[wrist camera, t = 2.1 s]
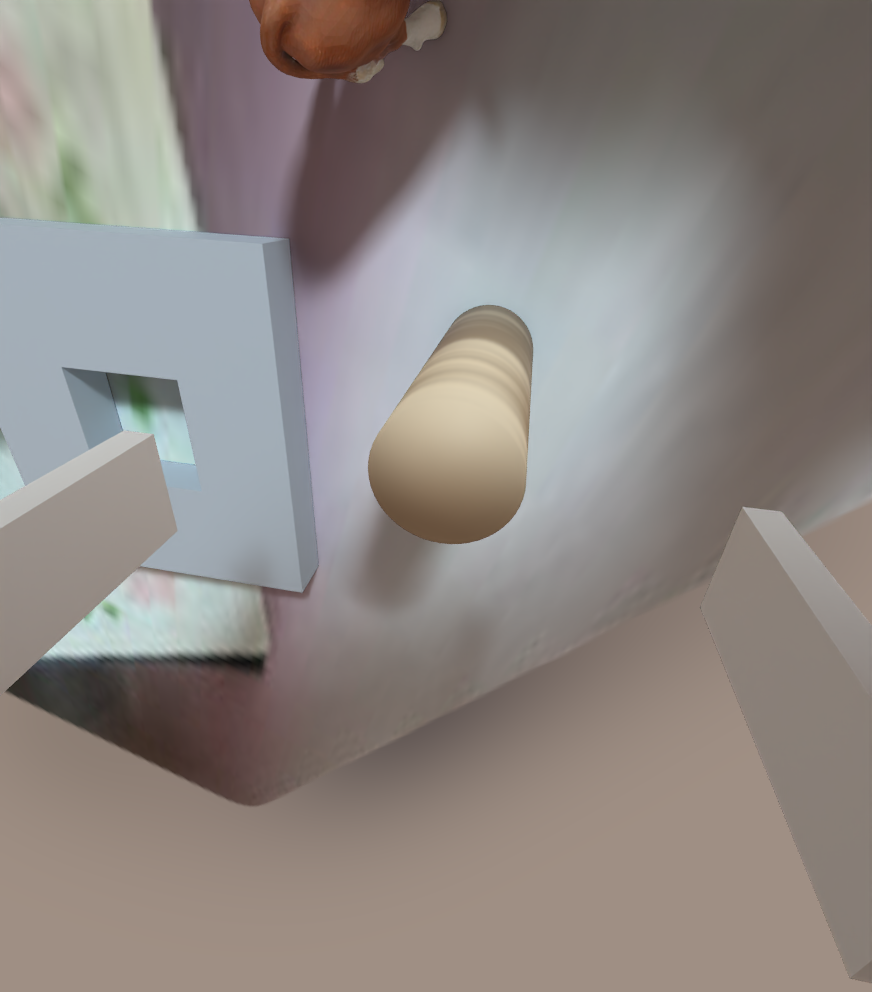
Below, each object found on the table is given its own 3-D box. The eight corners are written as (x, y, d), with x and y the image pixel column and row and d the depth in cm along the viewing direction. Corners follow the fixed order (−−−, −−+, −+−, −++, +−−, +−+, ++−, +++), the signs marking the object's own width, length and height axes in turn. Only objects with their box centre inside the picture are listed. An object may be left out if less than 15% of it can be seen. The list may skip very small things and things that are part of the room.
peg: (446, 301, 22) (366, 394, 12) (539, 309, 22) (537, 413, 12) (441, 389, 24) (369, 532, 14) (526, 399, 24) (514, 553, 14)
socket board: (-35, 214, 24) (-90, 217, 22) (288, 238, 22) (262, 243, 20) (84, 529, 33) (53, 551, 31) (318, 565, 31) (302, 592, 29)
